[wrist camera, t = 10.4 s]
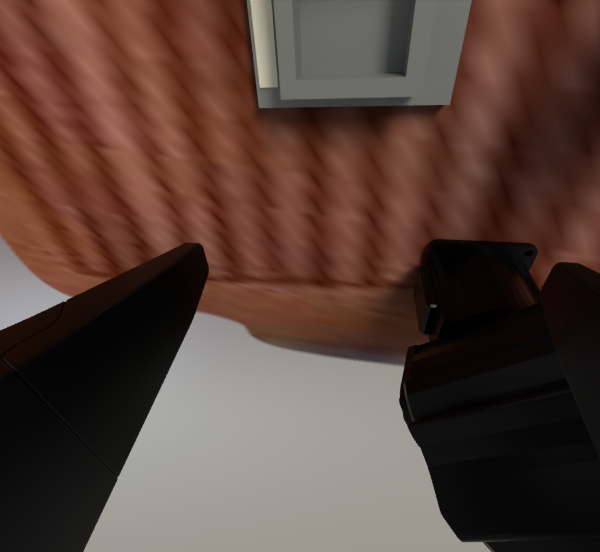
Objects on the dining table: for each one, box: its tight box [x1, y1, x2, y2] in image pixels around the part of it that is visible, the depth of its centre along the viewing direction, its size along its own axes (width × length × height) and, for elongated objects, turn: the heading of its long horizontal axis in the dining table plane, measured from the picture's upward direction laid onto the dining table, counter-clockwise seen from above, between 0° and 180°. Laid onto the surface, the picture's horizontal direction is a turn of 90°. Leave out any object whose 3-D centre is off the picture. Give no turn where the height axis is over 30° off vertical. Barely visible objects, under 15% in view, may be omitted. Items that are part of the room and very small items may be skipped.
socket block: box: [247, 0, 472, 108], centre depth 14 cm, size 10×8×3 cm
